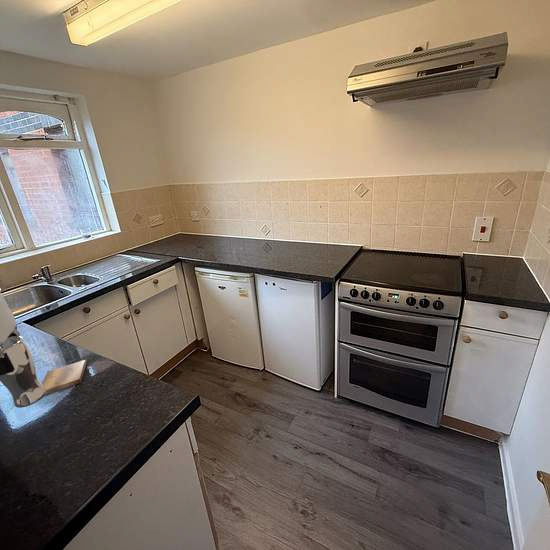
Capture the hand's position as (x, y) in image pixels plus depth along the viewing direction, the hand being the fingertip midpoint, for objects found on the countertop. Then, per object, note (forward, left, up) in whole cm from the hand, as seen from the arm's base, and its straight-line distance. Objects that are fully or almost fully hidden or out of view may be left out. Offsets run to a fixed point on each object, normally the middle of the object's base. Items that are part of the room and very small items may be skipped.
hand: (12, 362), depth 66 cm
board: (-2, +24, -21) cm, 32 cm away
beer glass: (0, 0, -10) cm, 10 cm away
